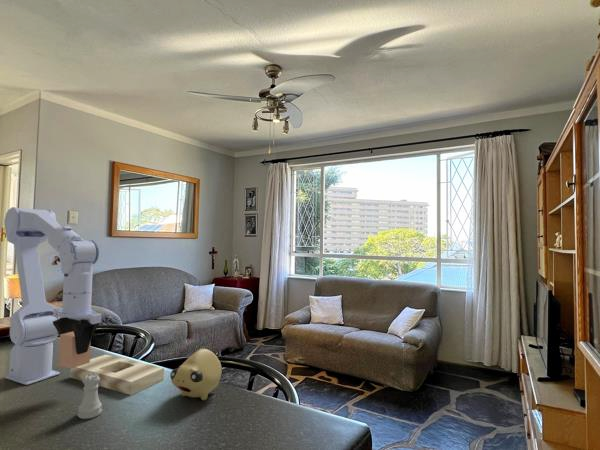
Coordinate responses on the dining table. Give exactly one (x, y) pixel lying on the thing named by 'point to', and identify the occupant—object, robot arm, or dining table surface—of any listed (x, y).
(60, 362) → the square peg
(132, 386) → the rail
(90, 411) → the rook chess piece
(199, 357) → the yellow toy creature
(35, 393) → the dining table surface
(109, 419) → the dining table surface
